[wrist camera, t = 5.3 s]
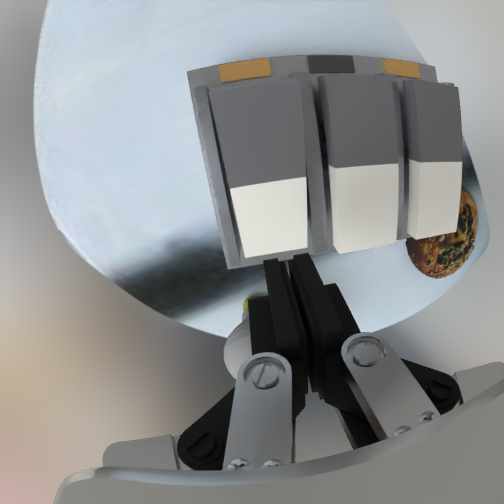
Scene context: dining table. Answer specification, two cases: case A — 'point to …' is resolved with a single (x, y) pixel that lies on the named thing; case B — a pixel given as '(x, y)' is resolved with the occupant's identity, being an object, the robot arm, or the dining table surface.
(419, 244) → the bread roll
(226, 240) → the switch box
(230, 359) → the light bulb
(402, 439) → the robot arm
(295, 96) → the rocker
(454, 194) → the rocker
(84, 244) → the dining table surface
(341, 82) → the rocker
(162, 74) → the dining table surface
